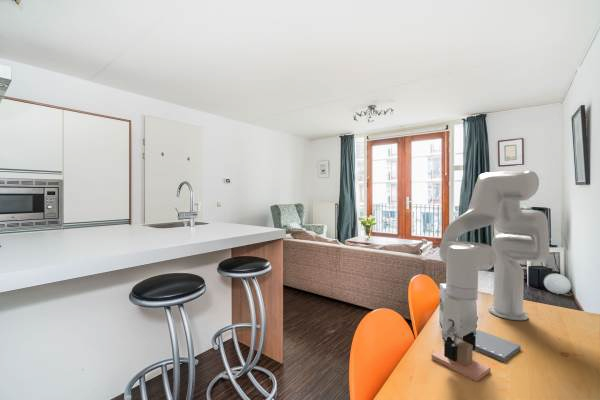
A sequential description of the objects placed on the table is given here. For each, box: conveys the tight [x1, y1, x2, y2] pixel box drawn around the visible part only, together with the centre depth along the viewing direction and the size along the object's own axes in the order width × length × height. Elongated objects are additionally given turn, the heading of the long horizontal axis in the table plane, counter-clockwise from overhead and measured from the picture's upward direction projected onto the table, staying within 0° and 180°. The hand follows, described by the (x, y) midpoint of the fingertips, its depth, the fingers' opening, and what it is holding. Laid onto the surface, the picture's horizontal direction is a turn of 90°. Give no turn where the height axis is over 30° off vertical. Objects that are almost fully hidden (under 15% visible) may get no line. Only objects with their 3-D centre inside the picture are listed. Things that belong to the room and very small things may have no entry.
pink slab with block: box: [431, 337, 491, 382], centre depth 78 cm, size 7×12×6 cm, turn 34°
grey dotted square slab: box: [459, 329, 521, 363], centre depth 88 cm, size 12×12×1 cm
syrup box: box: [438, 282, 447, 326], centre depth 101 cm, size 6×6×14 cm
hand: (460, 353), depth 78 cm, fingers open, 9 cm apart
